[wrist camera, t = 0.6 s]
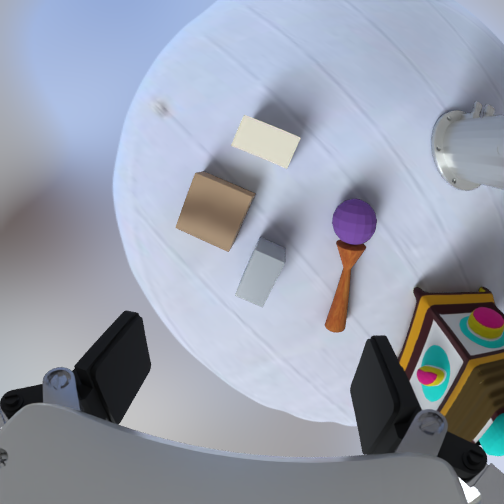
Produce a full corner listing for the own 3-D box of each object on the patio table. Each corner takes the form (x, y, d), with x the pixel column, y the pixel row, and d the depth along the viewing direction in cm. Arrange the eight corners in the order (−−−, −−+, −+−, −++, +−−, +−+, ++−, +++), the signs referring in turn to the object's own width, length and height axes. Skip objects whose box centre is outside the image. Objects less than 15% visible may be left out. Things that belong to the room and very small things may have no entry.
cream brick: (239, 147, 36) (230, 145, 31) (250, 121, 35) (244, 114, 29) (286, 167, 36) (286, 168, 31) (298, 141, 35) (300, 137, 29)
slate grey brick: (259, 236, 40) (255, 249, 34) (285, 247, 40) (285, 262, 34) (241, 277, 42) (234, 295, 37) (265, 287, 42) (262, 307, 37)
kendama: (314, 334, 40) (334, 201, 32) (318, 312, 45) (335, 192, 37) (352, 340, 38) (382, 208, 30) (353, 317, 43) (376, 198, 35)
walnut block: (204, 171, 38) (195, 172, 34) (255, 193, 38) (252, 197, 35) (185, 221, 41) (175, 227, 37) (233, 243, 41) (228, 252, 37)
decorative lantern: (458, 362, 43) (513, 466, 15) (380, 371, 46) (417, 508, 17) (490, 278, 37) (587, 371, 9) (407, 277, 39) (511, 419, 11)
